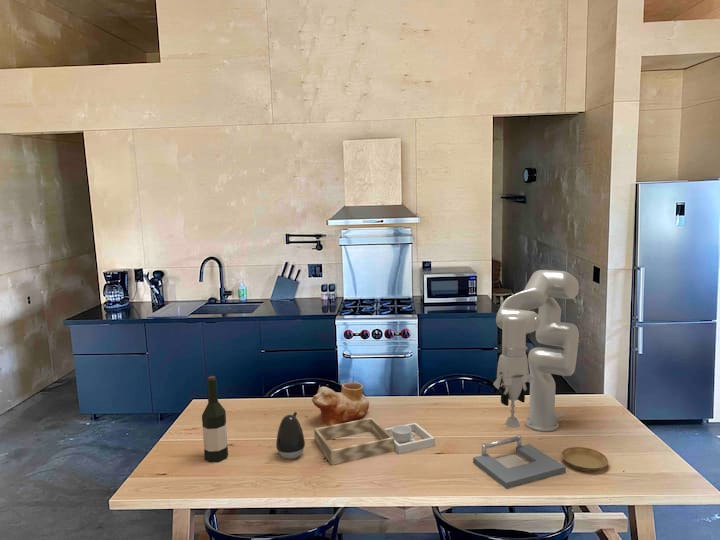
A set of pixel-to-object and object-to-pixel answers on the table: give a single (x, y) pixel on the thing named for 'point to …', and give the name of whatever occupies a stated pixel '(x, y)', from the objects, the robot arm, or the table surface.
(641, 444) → the table surface
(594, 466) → the plant saucer
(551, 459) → the grey rectangular frame
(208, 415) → the wine bottle
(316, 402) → the ceramic vessel
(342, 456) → the beige brown patterned tray
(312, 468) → the table surface
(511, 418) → the chalice
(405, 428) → the teacup
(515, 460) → the felt pad
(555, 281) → the robot arm
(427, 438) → the square frame
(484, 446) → the metal bar handle
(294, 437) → the dark grey pear figure
